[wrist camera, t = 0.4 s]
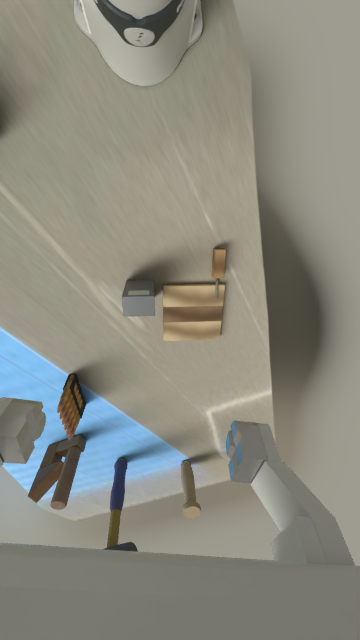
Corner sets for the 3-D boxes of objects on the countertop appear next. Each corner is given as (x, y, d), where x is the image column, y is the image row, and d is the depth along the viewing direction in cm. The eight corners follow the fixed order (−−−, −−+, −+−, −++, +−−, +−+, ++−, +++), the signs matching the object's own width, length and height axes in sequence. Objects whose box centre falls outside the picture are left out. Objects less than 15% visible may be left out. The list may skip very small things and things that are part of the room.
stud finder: (126, 280, 55) (121, 296, 46) (153, 280, 55) (154, 296, 47) (127, 297, 57) (123, 316, 48) (154, 297, 57) (155, 315, 48)
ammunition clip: (86, 404, 69) (74, 442, 58) (79, 405, 69) (66, 443, 58) (76, 373, 64) (61, 409, 54) (68, 374, 64) (52, 410, 53)
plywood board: (163, 284, 56) (163, 286, 55) (223, 283, 58) (225, 285, 56) (163, 338, 62) (163, 340, 61) (218, 336, 64) (219, 338, 63)
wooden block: (48, 445, 74) (19, 513, 58) (80, 433, 74) (61, 499, 57) (55, 452, 76) (29, 521, 60) (87, 440, 75) (69, 506, 59)
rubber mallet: (109, 472, 83) (89, 604, 56) (98, 459, 79) (71, 593, 53) (144, 461, 82) (140, 589, 55) (134, 447, 79) (126, 576, 52)
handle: (188, 454, 83) (196, 504, 70) (195, 465, 86) (203, 515, 72) (175, 459, 83) (180, 510, 70) (182, 470, 86) (188, 520, 73)
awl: (213, 248, 54) (215, 249, 52) (223, 248, 54) (226, 249, 52) (210, 297, 58) (212, 300, 56) (219, 297, 58) (222, 300, 56)
